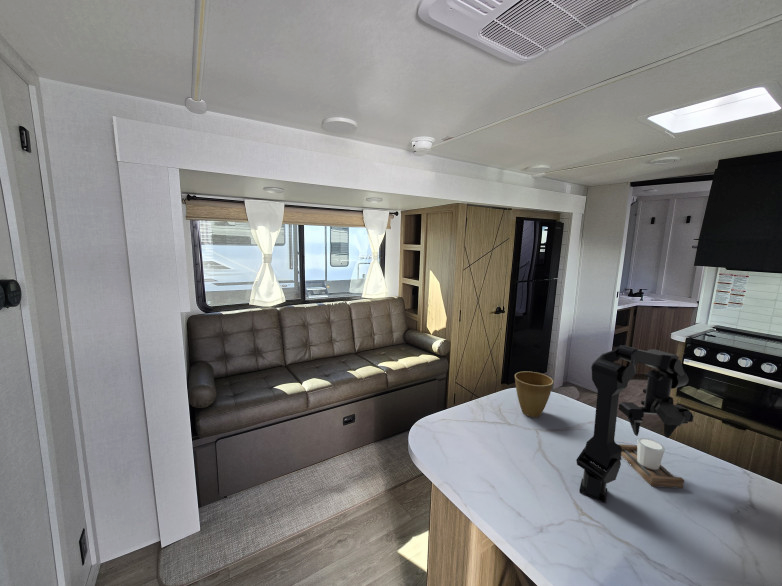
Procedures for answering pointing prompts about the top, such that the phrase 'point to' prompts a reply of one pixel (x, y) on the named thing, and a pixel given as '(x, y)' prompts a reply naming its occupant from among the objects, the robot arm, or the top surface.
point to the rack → (650, 470)
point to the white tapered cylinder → (649, 453)
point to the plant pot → (533, 392)
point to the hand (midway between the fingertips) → (651, 436)
